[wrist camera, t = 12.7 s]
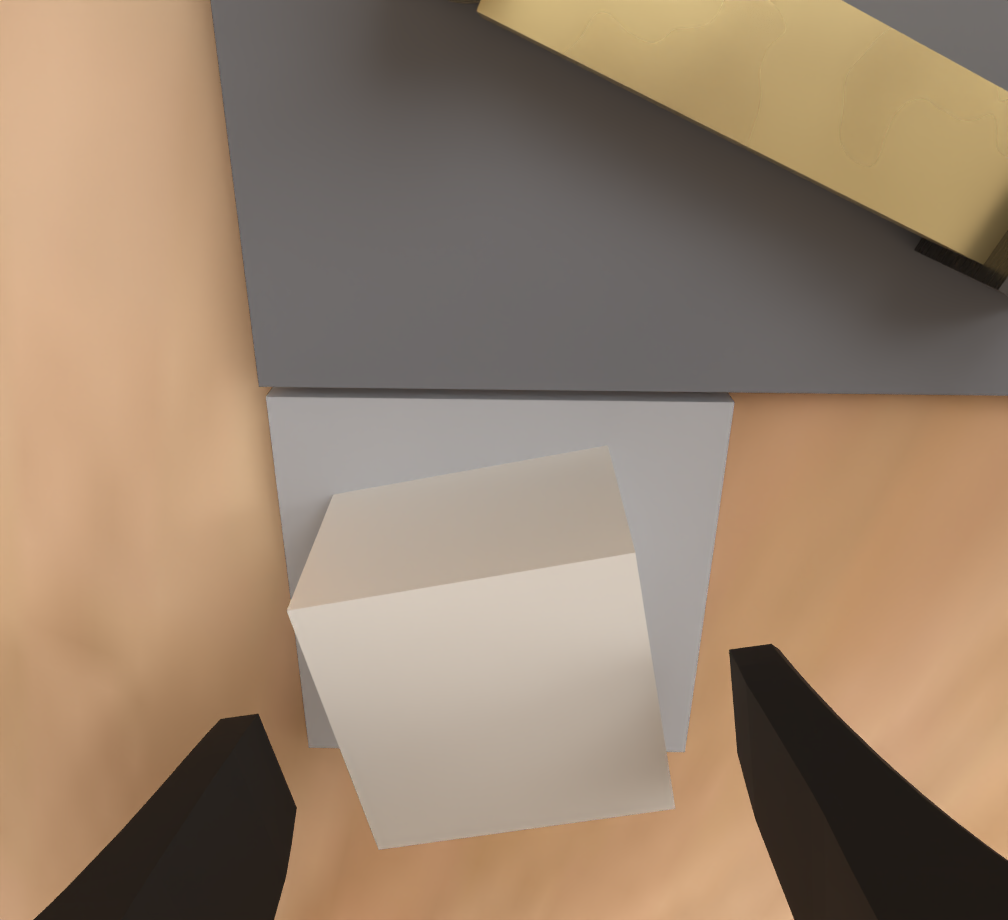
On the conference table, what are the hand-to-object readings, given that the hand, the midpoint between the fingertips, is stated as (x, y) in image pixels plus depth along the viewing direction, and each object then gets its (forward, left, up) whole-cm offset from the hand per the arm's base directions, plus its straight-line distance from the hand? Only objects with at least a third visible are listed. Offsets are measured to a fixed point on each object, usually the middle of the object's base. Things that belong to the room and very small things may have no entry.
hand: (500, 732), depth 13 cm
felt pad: (0, 0, -4) cm, 4 cm away
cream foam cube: (0, 0, -4) cm, 4 cm away
